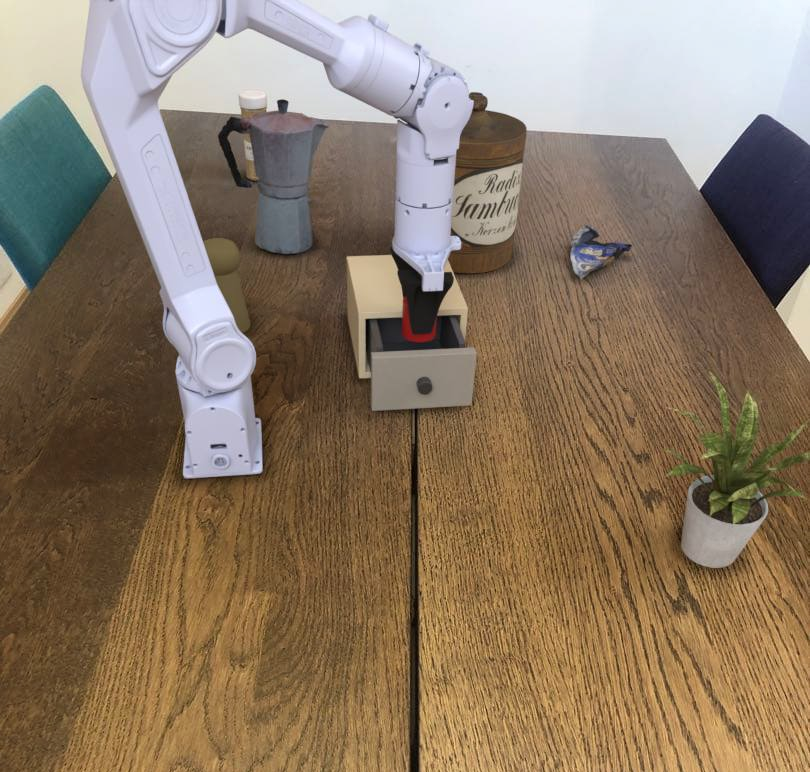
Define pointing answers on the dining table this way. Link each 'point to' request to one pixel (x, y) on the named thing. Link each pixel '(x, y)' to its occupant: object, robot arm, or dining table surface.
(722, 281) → the dining table surface
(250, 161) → the sprinkles bottle
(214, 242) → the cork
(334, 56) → the robot arm
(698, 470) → the house plant
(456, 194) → the wooden container
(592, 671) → the dining table surface
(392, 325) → the drawer
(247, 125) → the moka pot
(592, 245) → the snack package
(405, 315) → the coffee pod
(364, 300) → the mini drawer chest
